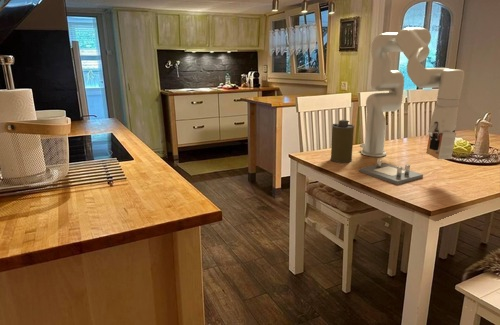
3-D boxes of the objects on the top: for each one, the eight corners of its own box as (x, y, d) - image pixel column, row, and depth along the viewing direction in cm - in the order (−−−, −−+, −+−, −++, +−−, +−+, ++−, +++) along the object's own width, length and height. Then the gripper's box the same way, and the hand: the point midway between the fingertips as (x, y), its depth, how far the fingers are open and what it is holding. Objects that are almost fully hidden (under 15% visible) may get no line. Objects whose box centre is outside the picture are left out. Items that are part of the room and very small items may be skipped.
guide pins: (371, 168, 151) (372, 159, 149) (382, 165, 154) (383, 157, 153) (399, 177, 139) (400, 168, 137) (410, 174, 142) (411, 165, 140)
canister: (356, 160, 168) (359, 120, 162) (343, 164, 162) (346, 123, 156) (338, 155, 176) (340, 117, 171) (325, 159, 170) (327, 120, 164)
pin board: (359, 171, 151) (359, 167, 151) (383, 165, 159) (384, 162, 158) (396, 184, 135) (397, 180, 134) (422, 177, 142) (423, 173, 141)
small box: (425, 153, 138) (429, 128, 135) (438, 152, 138) (443, 127, 135) (438, 159, 130) (442, 133, 127) (451, 158, 131) (456, 132, 128)
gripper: (451, 100, 135) (444, 143, 140) (423, 103, 127) (417, 149, 133) (471, 102, 129) (462, 147, 134) (443, 106, 121) (435, 153, 126)
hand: (439, 147), depth 133 cm, fingers closed on small box, 7 cm apart
